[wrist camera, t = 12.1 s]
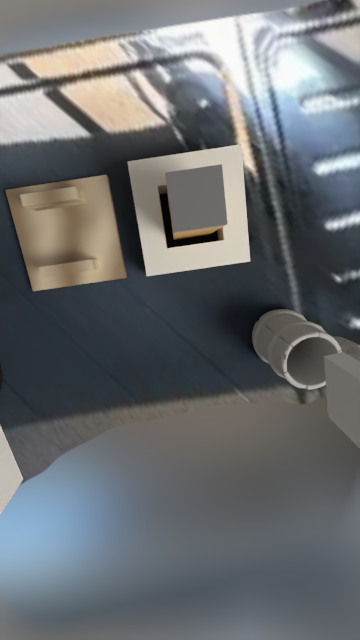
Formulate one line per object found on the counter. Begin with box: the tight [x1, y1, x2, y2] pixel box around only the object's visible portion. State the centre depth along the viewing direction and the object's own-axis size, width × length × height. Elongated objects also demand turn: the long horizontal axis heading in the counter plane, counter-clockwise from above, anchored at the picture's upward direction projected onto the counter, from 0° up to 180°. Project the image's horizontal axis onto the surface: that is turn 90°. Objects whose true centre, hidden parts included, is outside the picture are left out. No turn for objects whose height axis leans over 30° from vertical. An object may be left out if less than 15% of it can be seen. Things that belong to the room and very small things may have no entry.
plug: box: [165, 164, 227, 240], centre depth 27 cm, size 4×4×12 cm
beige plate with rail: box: [5, 175, 127, 291], centre depth 32 cm, size 12×12×4 cm
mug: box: [252, 309, 360, 389], centre depth 31 cm, size 8×12×12 cm, turn 87°
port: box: [127, 144, 250, 276], centre depth 31 cm, size 12×12×4 cm
